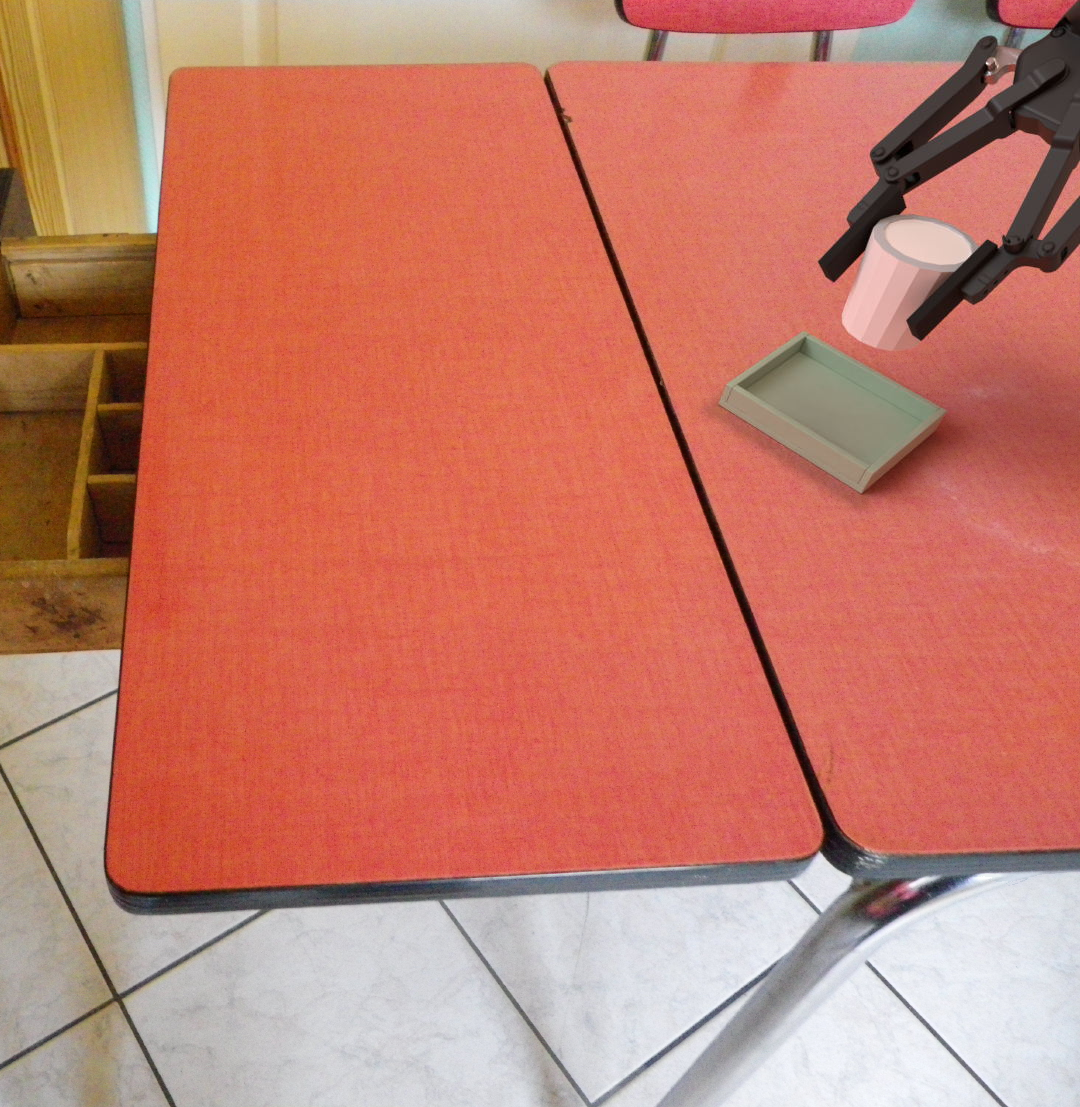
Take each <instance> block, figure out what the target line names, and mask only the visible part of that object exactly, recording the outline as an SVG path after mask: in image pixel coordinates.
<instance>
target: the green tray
mask: <svg viewBox="0 0 1080 1107" xmlns="http://www.w3.org/2000/svg"><path fill="white" fill-rule="evenodd" d="M718 405H719V406H720V407H722V408H723V409H725V410H727V411H728V412H731V414H733V415H735V416H737V417H738V418H740V420H741V419H742V420H743V421H745V422H746V423H748V424H749V425H751V426H752V427H754V428H756V429H757V430H759V431H760V432H762V433H763V434H765V435H766V436H768V437H770V438H771V439H773V440H774V441H776V442H778V443H780V444H781V445H783V446H784V447H786V448H787V449H789V450H791V451H792V452H794V453H795V454H797V455H798V456H800V457H802V458H803V459H804V460H806V461H808V462H810V463H811V464H813V465H814V466H816V467H818V468H819V469H821V470H822V471H824V472H826V473H827V474H829V475H830V476H832V477H834V478H835V479H837V480H838V481H840V482H842V483H843V484H845V485H846V486H847V487H849V488H851V489H853V490H854V491H856V492H858V493H859V494H864V492H865V491H867V489H869V488H870V487H871V486H872V485H874V484H875V483H876V482H877V481H878V480H879V479H881V478H882V477H883V476H884V475H885V474H886V473H888V472H889V471H890V470H891V469H893V467H895V466H896V465H897V464H899V463H900V462H901V460H903V459H904V458H905V457H906V456H907V455H909V454H910V453H911V452H912V451H913V450H915V449H916V448H917V447H918V446H919V445H920V444H921V443H923V442H924V441H925V440H926V439H927V438H929V437H930V436H931V435H932V434H933V433H934V432H936V430H937V429H938V427H939V425H940V423H941V422H942V420H943V419H944V418H945V416H946V414H947V413H948V410H947V409H945V408H943V407H941V406H940V405H938V404H936V403H935V402H933V401H930V400H929V399H927V398H926V397H924V396H922V395H921V394H918V393H916V392H914V391H913V390H911V389H909V388H907V387H906V386H904V385H902V384H900V383H899V382H897V381H895V380H893V379H892V378H889V377H888V376H886V375H884V374H882V373H881V372H879V371H877V370H875V369H874V368H871V367H870V366H868V365H866V364H864V363H863V362H861V361H859V360H857V359H856V358H853V357H852V356H850V355H848V354H846V353H845V352H843V351H842V350H839V349H838V348H836V347H834V346H832V345H831V344H829V343H827V342H825V341H823V340H822V339H820V338H818V337H816V336H814V335H813V334H810V333H809V332H807V331H805V330H802V331H801V332H799V333H798V334H797V335H795V336H794V337H793V338H791V339H789V340H788V341H787V342H785V343H784V344H782V345H781V346H779V347H778V348H776V349H775V350H773V351H772V352H771V353H769V354H767V355H766V356H765V357H764V358H762V359H760V360H759V361H758V362H756V363H755V364H753V365H751V367H749V368H747V369H746V370H745V371H743V372H741V373H740V374H739V375H738V376H735V377H734V378H733V379H731V380H730V381H728V382H727V383H726V384H725V387H724V390H723V392H722V394H721V396H720V399H719V402H718Z"/></svg>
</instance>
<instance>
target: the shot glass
mask: <svg viewBox="0 0 1080 1107" xmlns="http://www.w3.org/2000/svg"><path fill="white" fill-rule="evenodd" d="M979 247H980V245H979V244H978V243H977V242H976V241H975V240H974V238H972V236H971V235H970V234H969V233H967V232H965V231H964V230H962V229H960V228H959V227H957V226H956V225H954V224H951V223H949V222H946V221H943V220H941V219H937V218H935V217H930V216H925V215H918V214H911V213H909V214H908V213H907V214H900V215H893V216H890V217H887V218H884V219H881V220H880V221H879V222H878V223H877V224H876V225H875V227H874V228H873V230H872V233H871V236H870V239H869V241H868V244H867V247H866V250H865V251H864V252H863V254H862V258H861V261H860V264H859V266H858V269H857V271H856V274H855V277H854V280H853V283H852V285H851V287H850V291H849V293H848V296H847V299H846V302H845V304H844V307H843V309H842V313H841V324H842V325H843V327H844V329H845V331H847V333H848V334H849V335H851V336H852V337H853V338H855V339H856V340H857V341H858V342H860V343H863V344H864V345H867V346H869V347H872V348H874V349H878V350H884V351H888V352H903V351H907V352H908V351H909V350H912V349H915V348H917V347H919V345H920V343H922V341H920V340H919V339H917V338H916V337H914V336H913V335H912V334H911V331H910V329H909V326H908V324H907V321H906V320H907V319H908V318H909V317H910V316H911V315H912V314H913V313H914V312H915V311H916V310H917V309H918V308H919V307H920V306H921V305H922V304H923V303H924V302H925V301H926V300H927V299H928V298H929V297H930V296H931V295H932V294H933V293H934V292H935V291H936V290H937V289H938V288H939V287H940V286H941V285H942V284H943V283H944V282H945V281H946V280H947V279H948V278H949V277H950V276H951V275H952V274H953V273H954V272H955V271H956V270H957V269H958V268H959V267H960V266H961V265H962V264H963V263H964V262H965V261H966V260H967V259H968V258H969V257H970V256H971V255H972V254H973V253H974V252H975V251H976V250H977V249H978V248H979Z"/></svg>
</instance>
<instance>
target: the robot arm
mask: <svg viewBox="0 0 1080 1107" xmlns="http://www.w3.org/2000/svg"><path fill="white" fill-rule="evenodd" d="M1013 72H1014V73H1013ZM1008 73H1013V74H1014V75H1013V80H1012V84H1011V85H1010V86H1008V87H1007V88H1005V89H1004V90H1002V91H999V92H998V93H997V94H995V95H994V96H992V97H991V98H990V99H988V101H987V102H986V104H985V106H983V107H982V108H980V109H978V110H977V111H976V112H974V113H972V114H971V115H969V116H967V117H966V118H965V119H962V120H961V121H960V122H958V123H956V124H954V125H953V126H951V127H949V128H948V129H946V130H945V131H943V132H942V133H940V131H942V130H943V129H944V128H945V127H946V126H947V125H949V123H951V122H952V121H953V120H954V119H955V118H956V117H958V116H959V115H960V114H961V113H962V112H963V111H964V110H966V108H967V107H969V106H970V105H971V104H972V103H973V102H974V101H975V100H976V99H977V98H979V96H980V95H981V94H982V93H983V92H984V90H985V89H986V88H987V86H988V85H990V86H994V85H996V84H997V83H998V82H999V80H1000V79H1001V78H1002V77H1003V76H1005V75H1006V74H1008ZM1019 131H1021V132H1023V133H1025V134H1029V135H1034V136H1037V137H1038V136H1039V137H1040V138H1041V139H1042V140H1043V142H1045V143H1046V144H1047V145H1049V146H1050V148H1049V150H1048V152H1047V153H1046V156H1045V158H1044V159H1043V161H1042V164H1041V166H1040V167H1039V170H1038V171H1037V174H1036V175H1035V178H1034V179H1033V181H1032V183H1031V185H1030V186H1029V189H1028V190H1027V193H1026V195H1025V197H1024V199H1023V201H1022V203H1021V205H1020V207H1019V209H1018V211H1017V213H1016V215H1015V216H1014V219H1013V221H1012V223H1011V225H1010V226H1009V229H1008V230H1007V232H1006V234H1002V236H1001V241H1002V244H1001V245H1000V246H998V244H997V243H995V242H993V241H992V240H990V239H988V238H987V239H986V240H984V242H983V243H981V244H980V245H979V248H978V249H977V250H976V251H975V252H974V253H973V254H972V255H971V256H970V257H969V258H968V259H967V260H966V261H965V262H964V263H963V264H962V265H961V266H960V267H959V268H958V269H957V270H956V271H955V272H954V273H953V274H952V275H951V276H950V277H949V278H948V279H947V280H946V281H945V282H944V283H943V284H942V285H941V286H940V287H939V288H938V289H937V290H936V291H935V292H934V293H933V294H932V295H931V296H930V297H929V298H928V299H927V300H926V301H925V302H924V303H923V304H922V305H921V306H920V307H919V308H918V309H917V310H916V311H915V312H914V313H913V314H912V315H911V316H910V317H909V318H908V319H907V320H906V321H907V324H908V326H909V329H910V331H911V334H912V335H913V336H914V337H916V338H917V339H919V340H920V341H921V342H923V340H925V338H926V337H927V336H928V335H930V333H931V332H932V331H933V330H934V329H935V328H936V327H937V326H939V324H941V323H942V322H943V320H945V319H946V318H947V317H948V316H949V315H950V314H951V313H952V312H953V311H954V310H955V309H956V308H957V307H958V306H959V305H960V304H961V303H962V302H963V301H966V302H967V303H969V304H971V305H972V306H975V305H977V304H978V303H981V302H983V301H984V300H985V299H986V298H987V297H988V296H989V295H990V294H991V293H992V292H993V291H994V290H995V289H996V288H997V287H998V286H999V285H1000V284H1001V283H1002V282H1003V281H1004V280H1006V278H1008V276H1009V275H1011V273H1013V271H1015V270H1017V269H1019V268H1022V267H1030V268H1034V269H1039V270H1040V271H1041V272H1042V273H1046V274H1050V273H1054V272H1056V271H1058V270H1059V269H1060V268H1061V267H1062V265H1063V264H1064V263H1065V262H1066V261H1067V260H1068V258H1069V257H1070V256H1072V254H1073V253H1074V251H1075V250H1076V249H1077V248H1078V247H1079V246H1080V195H1079V196H1078V197H1077V198H1076V199H1075V200H1074V202H1073V203H1072V204H1071V205H1070V206H1069V207H1068V208H1067V209H1066V211H1065V212H1064V213H1063V215H1062V216H1061V217H1060V218H1059V219H1058V220H1057V222H1056V223H1055V224H1053V226H1052V228H1050V229H1049V231H1048V232H1047V233H1046V234H1045V236H1044V237H1043V238H1042V239H1039V237H1040V236H1041V233H1042V231H1043V230H1044V228H1045V225H1046V223H1047V221H1048V220H1049V218H1050V216H1051V215H1052V214H1051V213H1052V212H1053V210H1054V208H1055V206H1056V204H1057V202H1058V200H1059V198H1060V196H1061V195H1062V192H1063V191H1064V188H1065V186H1066V184H1067V182H1068V181H1069V179H1070V177H1071V175H1072V173H1073V171H1074V170H1075V169H1076V168H1077V167H1078V165H1079V163H1080V0H1076V1H1075V3H1074V4H1072V5H1071V7H1070V8H1068V10H1067V11H1065V13H1064V14H1063V15H1062V16H1061V18H1060V19H1059V20H1058V21H1057V22H1056V23H1055V25H1054V27H1052V29H1051V30H1050V31H1049V32H1048V33H1047V34H1046V35H1045V36H1044V37H1041V39H1038V40H1037V41H1035V42H1033V43H1030V44H1029V45H1027V46H1026V47H1025V48H1024V49H1021V48H1015V47H1010V46H1004V45H999V43H998V38H997V37H996V36H994V35H986V36H983V37H981V38H980V39H979V40H978V41H977V42H976V44H975V46H974V47H973V49H972V51H971V52H970V53H969V55H968V57H967V59H966V60H965V62H964V63H963V65H962V66H961V67H960V68H959V69H958V70H957V71H955V72H954V73H953V74H952V75H951V76H950V77H948V78H947V80H946V81H944V83H942V84H941V85H940V86H939V87H937V89H936V90H935V91H934V92H932V93H931V94H930V95H929V96H928V97H927V98H926V99H925V100H924V101H923V102H921V104H920V105H918V106H917V107H916V108H915V109H914V110H913V111H911V113H909V114H908V115H907V116H906V117H905V118H904V119H903V120H902V121H901V122H900V123H899V124H898V125H896V126H895V127H894V128H893V129H892V130H890V132H888V133H887V134H886V135H885V136H884V137H883V138H882V139H881V140H880V141H879V142H877V143H876V144H875V146H873V147H872V149H870V152H869V158H870V161H871V164H872V166H873V169H874V173H875V174H876V176H877V177H878V179H877V182H876V183H875V184H874V185H873V187H871V188H870V189H869V191H868V192H867V193H865V195H864V196H863V197H862V198H861V199H860V200H859V201H858V202H857V203H856V204H855V206H853V207H852V209H851V210H850V211H849V212H848V215H847V217H846V222H847V224H848V226H849V228H848V229H847V230H846V231H845V232H844V233H843V234H842V235H841V236H840V237H839V238H838V240H836V241H835V243H833V245H832V246H831V247H830V248H829V249H828V250H827V251H825V253H824V254H823V255H822V256H821V257H820V258H819V259H818V260H817V263H818V265H819V267H820V269H821V271H822V273H823V275H824V277H825V278H826V279H827V280H829V281H830V282H832V283H836V282H837V281H838V279H839V278H840V277H842V275H843V274H844V273H846V271H847V270H848V269H849V268H850V267H851V266H852V265H854V263H855V262H856V261H857V260H858V258H860V257H861V255H863V254H864V252H865V250H866V247H867V244H868V241H869V239H870V236H871V233H872V230H873V228H874V227H875V225H876V224H877V223H878V222H879V221H880V220H881V219H884V218H887V217H890V216H893V215H902V213H903V212H904V211H906V209H907V204H906V200H905V198H904V197H905V196H906V195H907V194H908V193H910V192H911V191H913V190H915V189H917V188H918V187H920V186H922V185H923V184H926V183H927V182H928V181H930V180H931V179H933V178H935V177H937V176H938V175H940V174H942V173H943V172H945V171H946V170H948V169H950V168H951V167H953V166H954V165H957V164H958V163H960V162H962V161H963V160H965V159H966V158H968V157H970V156H971V155H973V154H975V153H977V152H978V151H980V150H981V149H983V148H985V147H987V146H988V145H990V144H991V143H993V142H994V141H996V140H1003V139H1006V138H1008V137H1010V136H1012V135H1013V134H1015V133H1017V132H1019ZM939 133H940V134H939ZM937 134H939V135H937ZM936 135H937V136H936Z"/></svg>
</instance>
